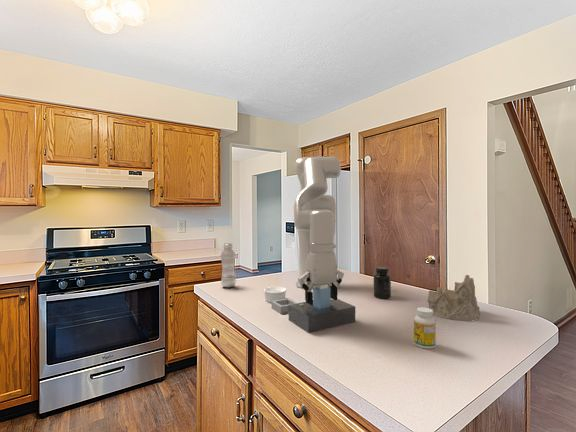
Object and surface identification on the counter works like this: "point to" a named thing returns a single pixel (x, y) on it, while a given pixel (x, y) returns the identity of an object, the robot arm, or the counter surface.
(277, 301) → the frame
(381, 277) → the supplement bottle
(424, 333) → the supplement bottle
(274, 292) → the ramekin
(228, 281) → the plastic bottle
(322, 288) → the plug
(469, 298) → the ceramic cottage
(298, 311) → the port panel
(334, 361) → the counter surface
